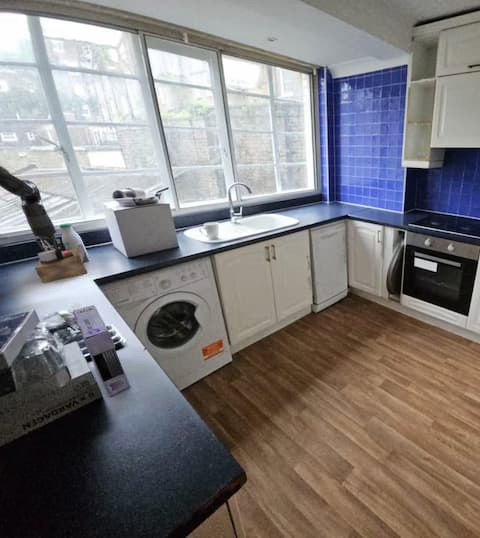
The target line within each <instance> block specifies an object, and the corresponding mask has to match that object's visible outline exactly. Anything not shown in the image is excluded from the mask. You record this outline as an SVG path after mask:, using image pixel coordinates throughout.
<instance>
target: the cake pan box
mask: <svg viewBox="0 0 480 538" xmlns="http://www.w3.org/2000/svg"><path fill="white" fill-rule="evenodd" d="M72 314H73V317H74V319H75V321H76V322H75V323H76V324H77V326H78V329H79V332H80V334H81V337H82V340H83V342H84V345H85V347H86V349H87V351H88V353H89V356H90V358H91V360H92V363H93V365H94V367H95V370H96V372H97V375H98V376H99V379H100V380H101V383H102V384H103V386H104V388H105V390H106V393H107V394H108V397H109V398H112V397H114V396H115V395H118V394H119V393H121V392H123V391H125V390H127V389H130V388H131V384H130V382H129V379H128V377H127V375H126V372H125V370H124V368H123V366H122V363H121V361H120V358H119V356H118V353H117V350H116V345H115V342H114V340H113V338H112V335H111V334H110V331H109V329H108V327H107V325H106V323H105V321H104V320H103V318H102V316H101V315H100V313H99V311H98V309H97V307H96V306H95V304H92V305H87V306H84V307H80V308H76V309H73V310H72Z"/></svg>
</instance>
